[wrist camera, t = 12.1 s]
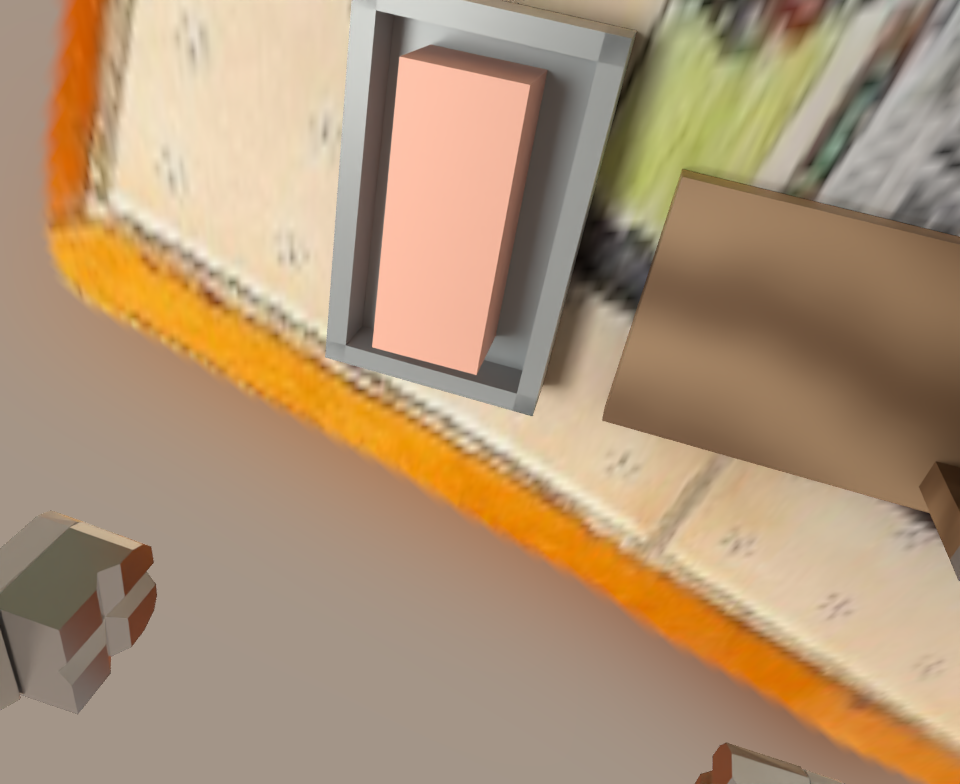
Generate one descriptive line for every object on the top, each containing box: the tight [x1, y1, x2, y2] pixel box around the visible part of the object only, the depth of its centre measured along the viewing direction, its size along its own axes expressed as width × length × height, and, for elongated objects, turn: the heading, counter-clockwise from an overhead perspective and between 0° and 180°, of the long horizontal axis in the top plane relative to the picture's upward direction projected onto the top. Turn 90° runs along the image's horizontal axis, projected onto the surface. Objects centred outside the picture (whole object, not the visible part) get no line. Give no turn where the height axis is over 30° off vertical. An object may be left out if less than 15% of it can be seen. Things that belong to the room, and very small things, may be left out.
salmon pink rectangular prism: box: [372, 45, 548, 375], centre depth 26 cm, size 4×10×3 cm, turn 171°
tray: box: [325, 0, 637, 416], centre depth 27 cm, size 14×9×2 cm, turn 170°
